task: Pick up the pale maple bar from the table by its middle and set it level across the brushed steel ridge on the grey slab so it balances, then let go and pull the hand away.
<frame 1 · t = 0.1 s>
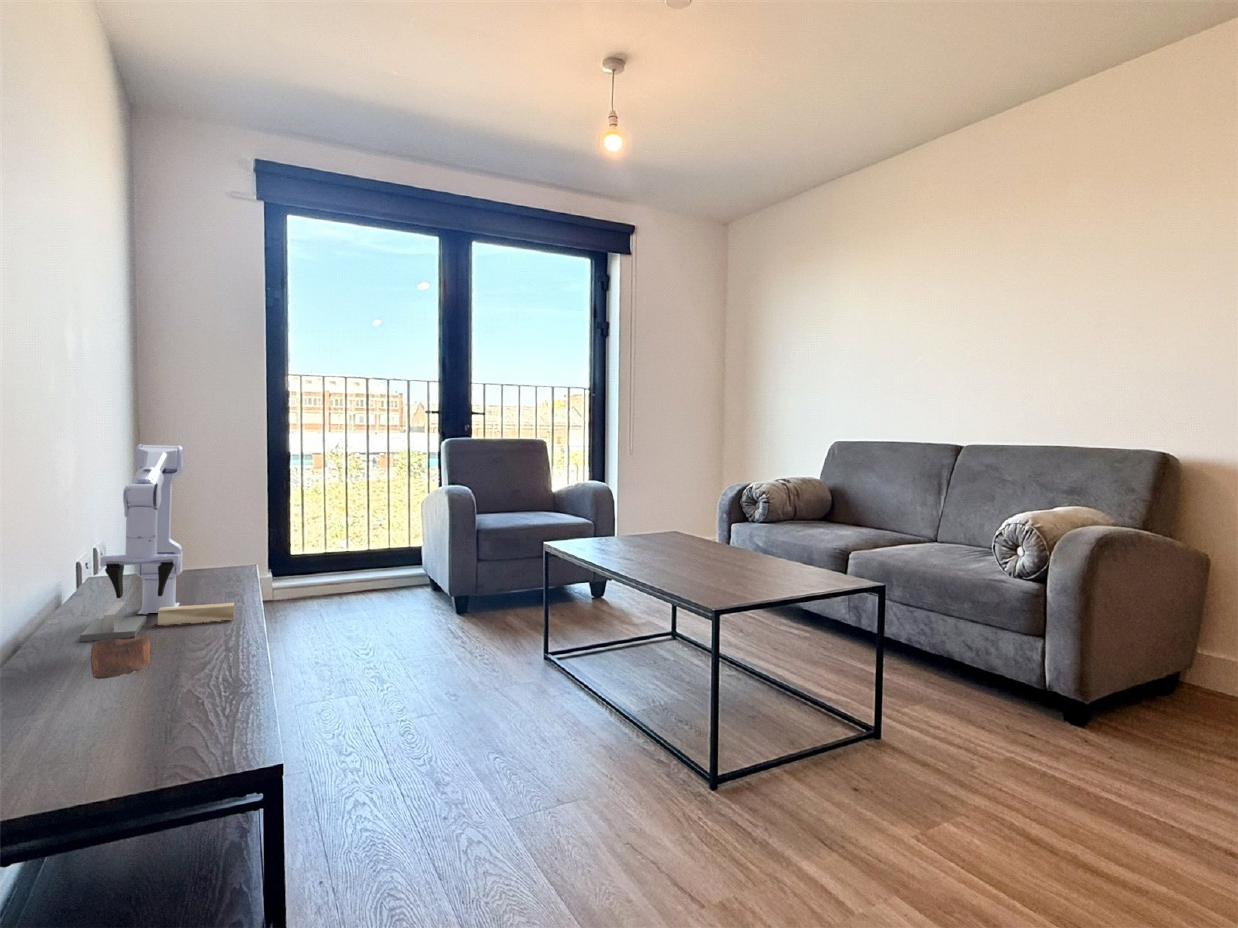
hand: (140, 596, 150), 10 cm above the table, tool pointing down, fingers open, 7 cm apart
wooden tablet: (120, 660, 139), on the table
steel ridge: (115, 616, 156), on the grey slab, point 4 cm above the table
maple bar: (197, 622, 167), on the table
grey slab: (115, 631, 156), on the table
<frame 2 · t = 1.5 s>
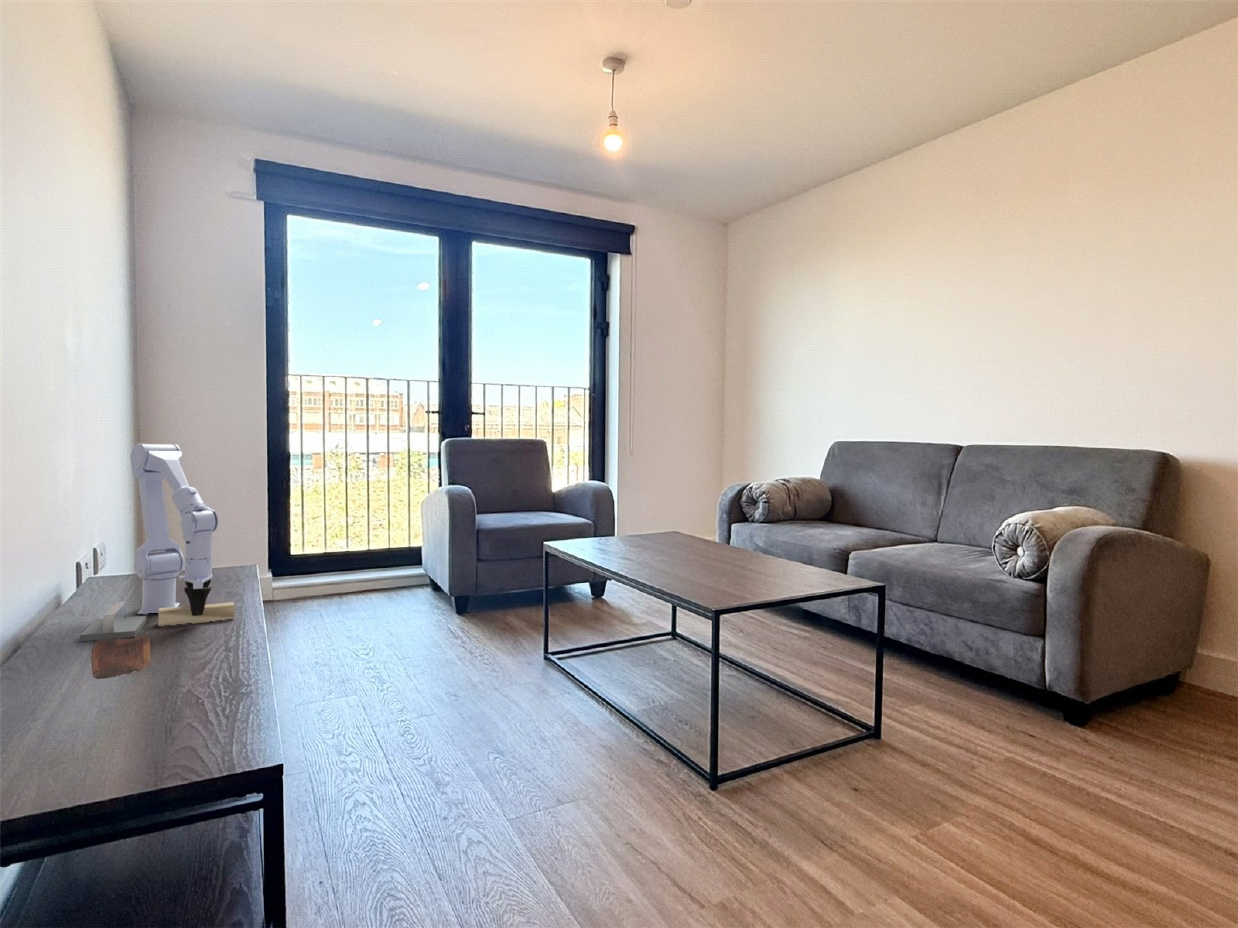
hand: (197, 611, 167), 2 cm above the table, tool pointing down, fingers open, 7 cm apart
nothing on the table moved.
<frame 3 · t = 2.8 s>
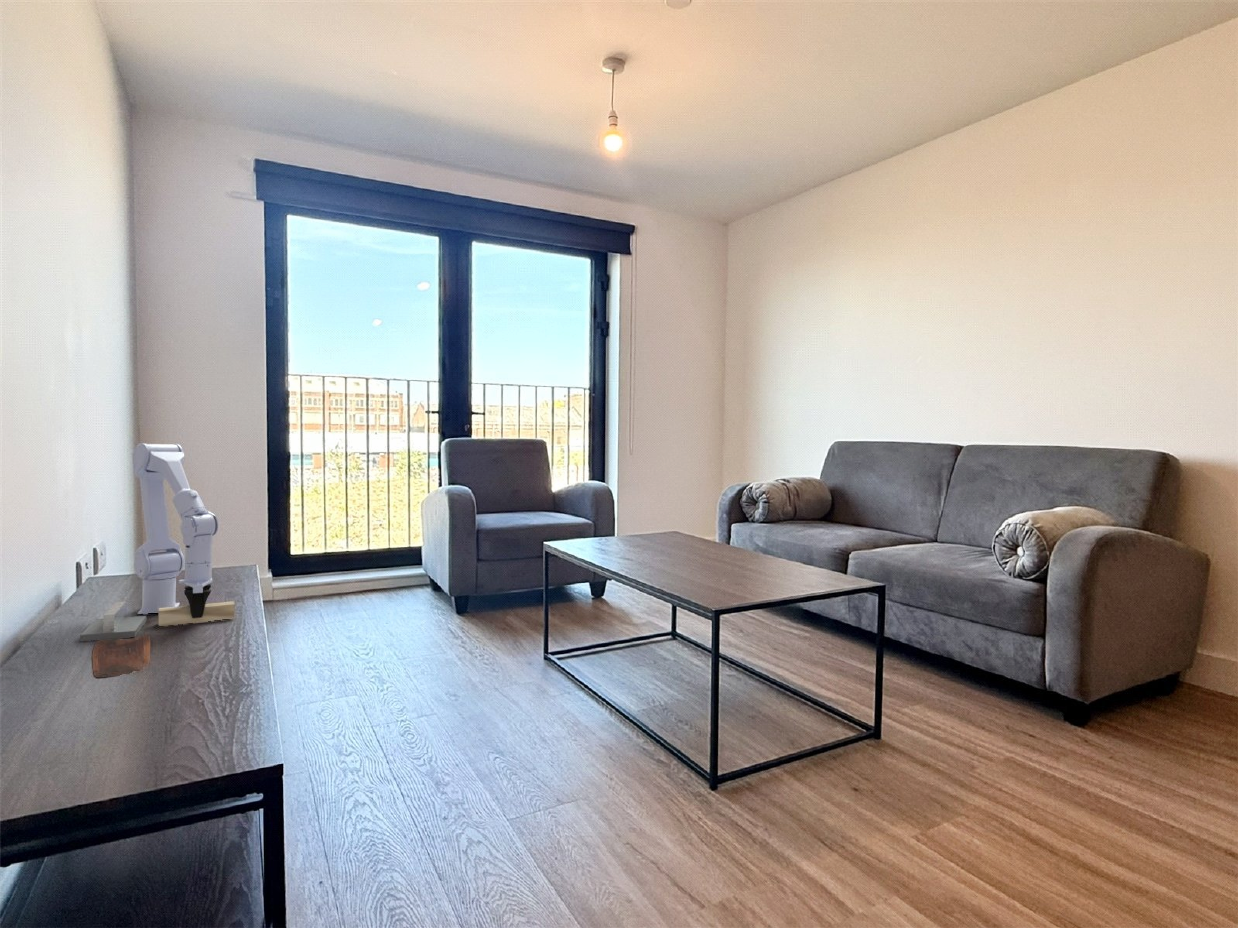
hand: (197, 615, 167), 1 cm above the table, tool pointing down, fingers closed on maple bar, 3 cm apart
maple bar: (197, 621, 167), on the table, touching gripper
everything else where it was.
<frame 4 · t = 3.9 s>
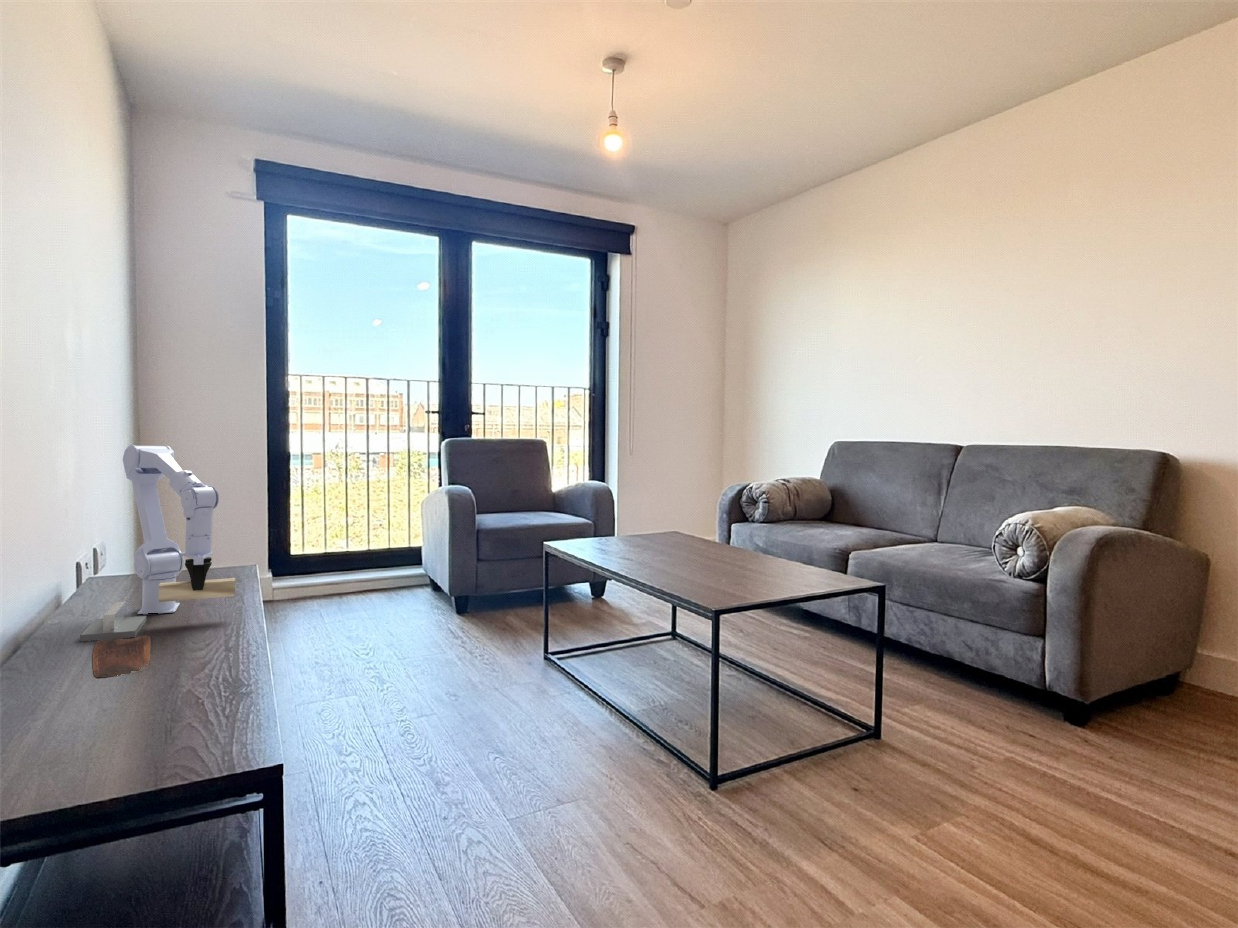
hand: (197, 588, 166), 8 cm above the table, tool pointing down, fingers closed on maple bar, 3 cm apart
maple bar: (197, 597, 167), point 6 cm above the table, touching gripper
everything else where it was.
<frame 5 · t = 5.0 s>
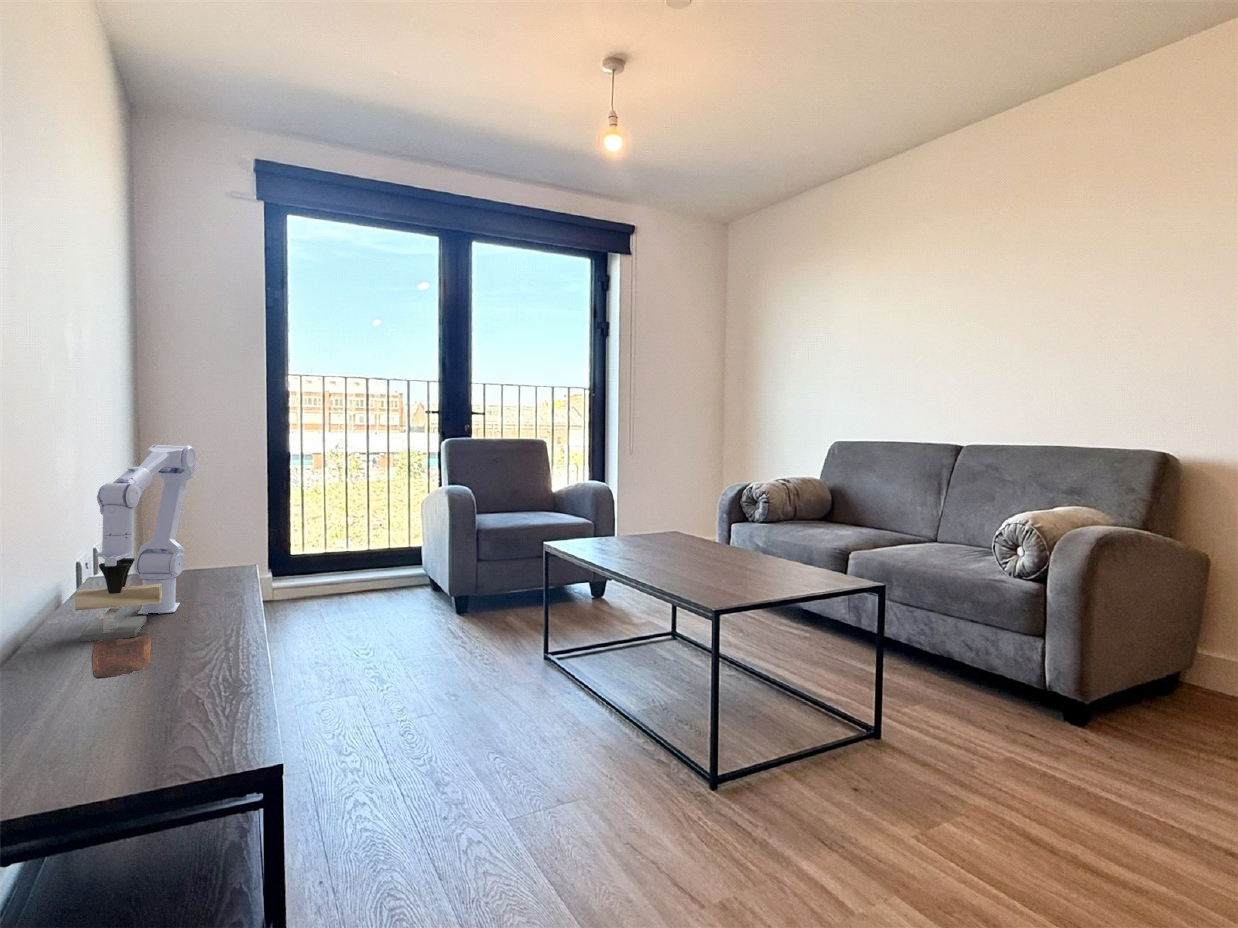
hand: (116, 591, 156), 9 cm above the table, tool pointing down, fingers closed on maple bar, 3 cm apart
maple bar: (119, 605, 156), point 6 cm above the table, touching gripper
everything else where it was.
when the fingers open (8 cm above the table, at t = 6.1 s): maple bar stays where it is, resting on steel ridge.
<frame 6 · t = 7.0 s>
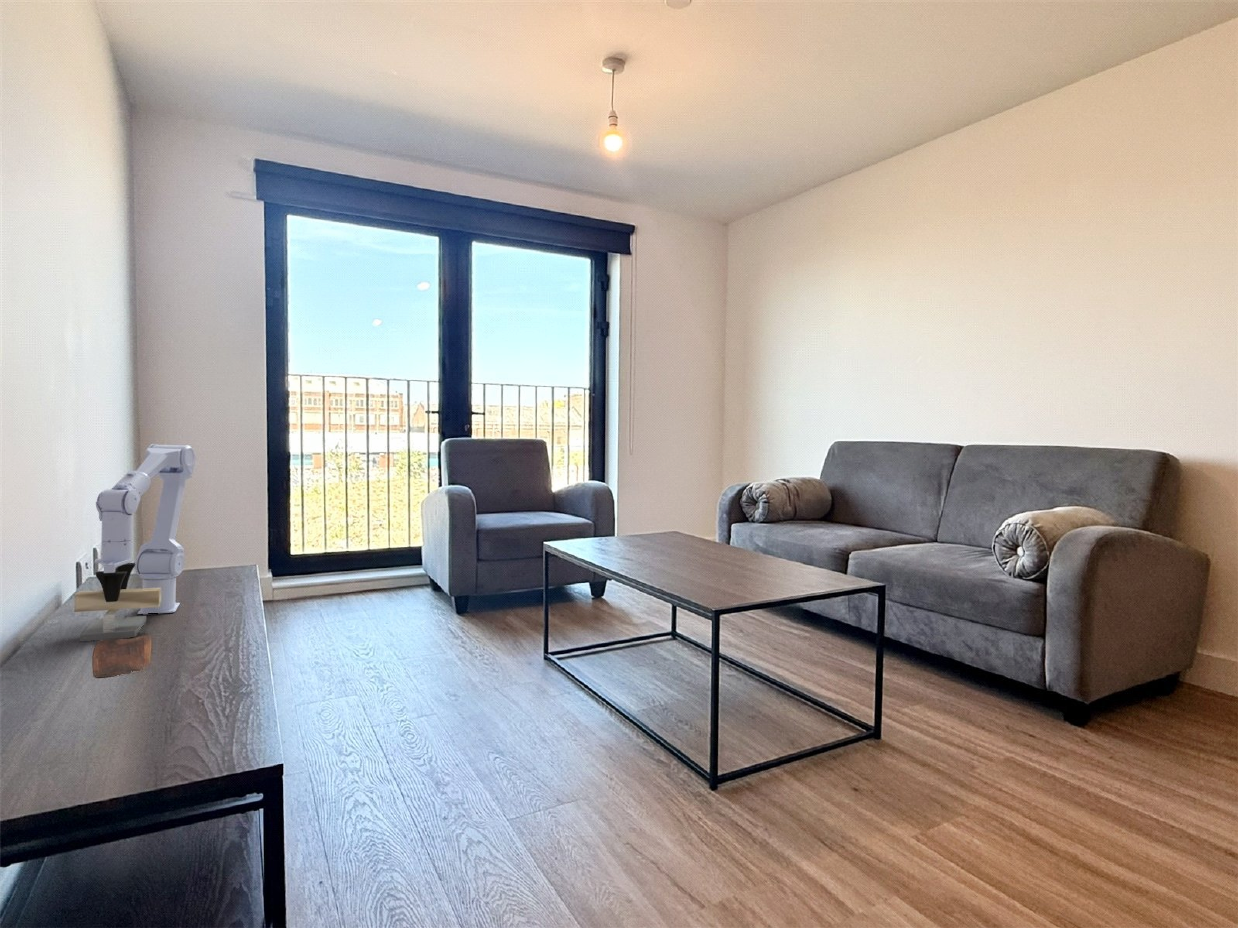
hand: (115, 597, 156), 8 cm above the table, tool pointing down, fingers open, 7 cm apart
maple bar: (118, 607, 156), point 5 cm above the table, touching steel ridge
everything else where it was.
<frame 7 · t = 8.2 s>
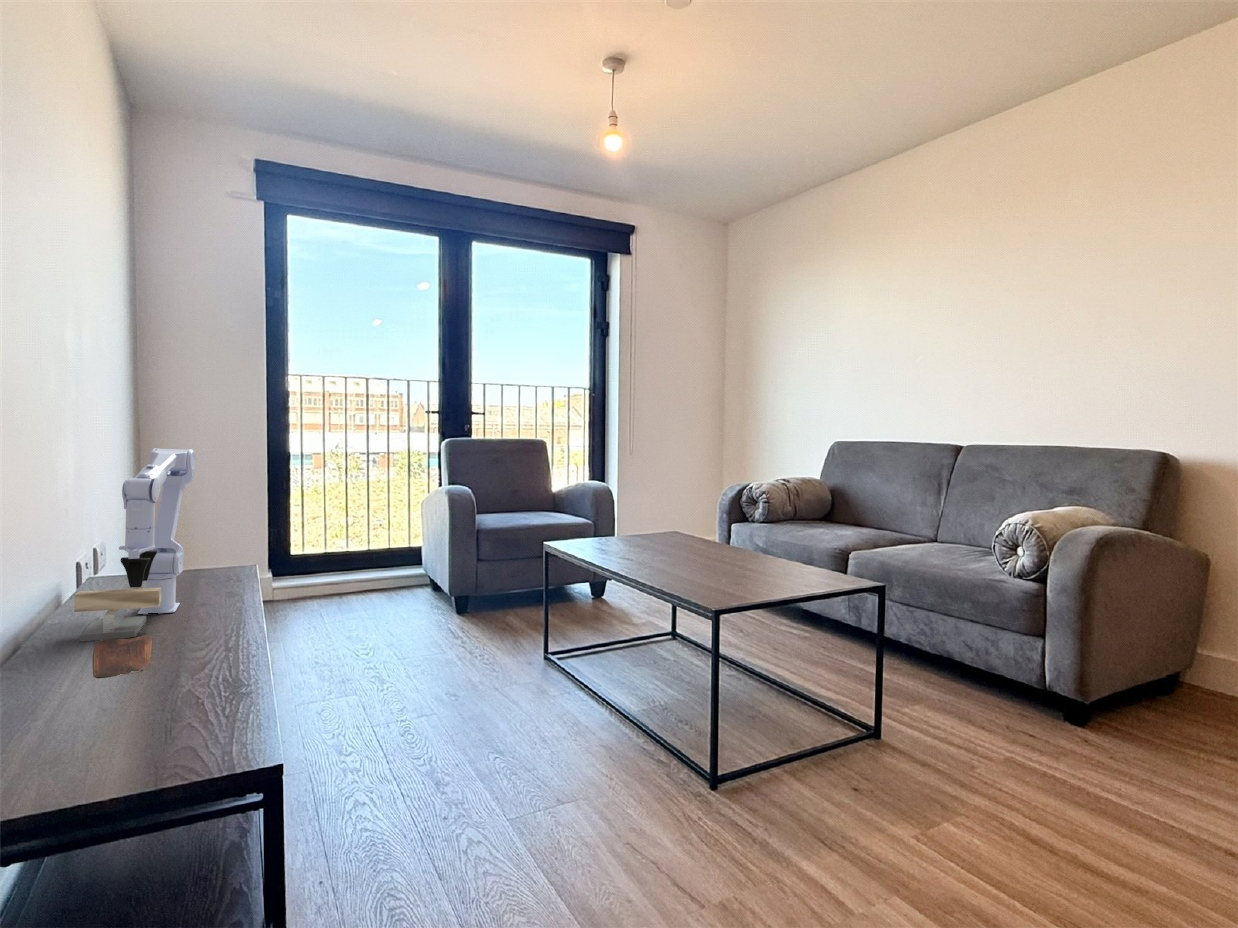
hand: (138, 583, 160), 10 cm above the table, tool pointing down, fingers open, 7 cm apart
nothing on the table moved.
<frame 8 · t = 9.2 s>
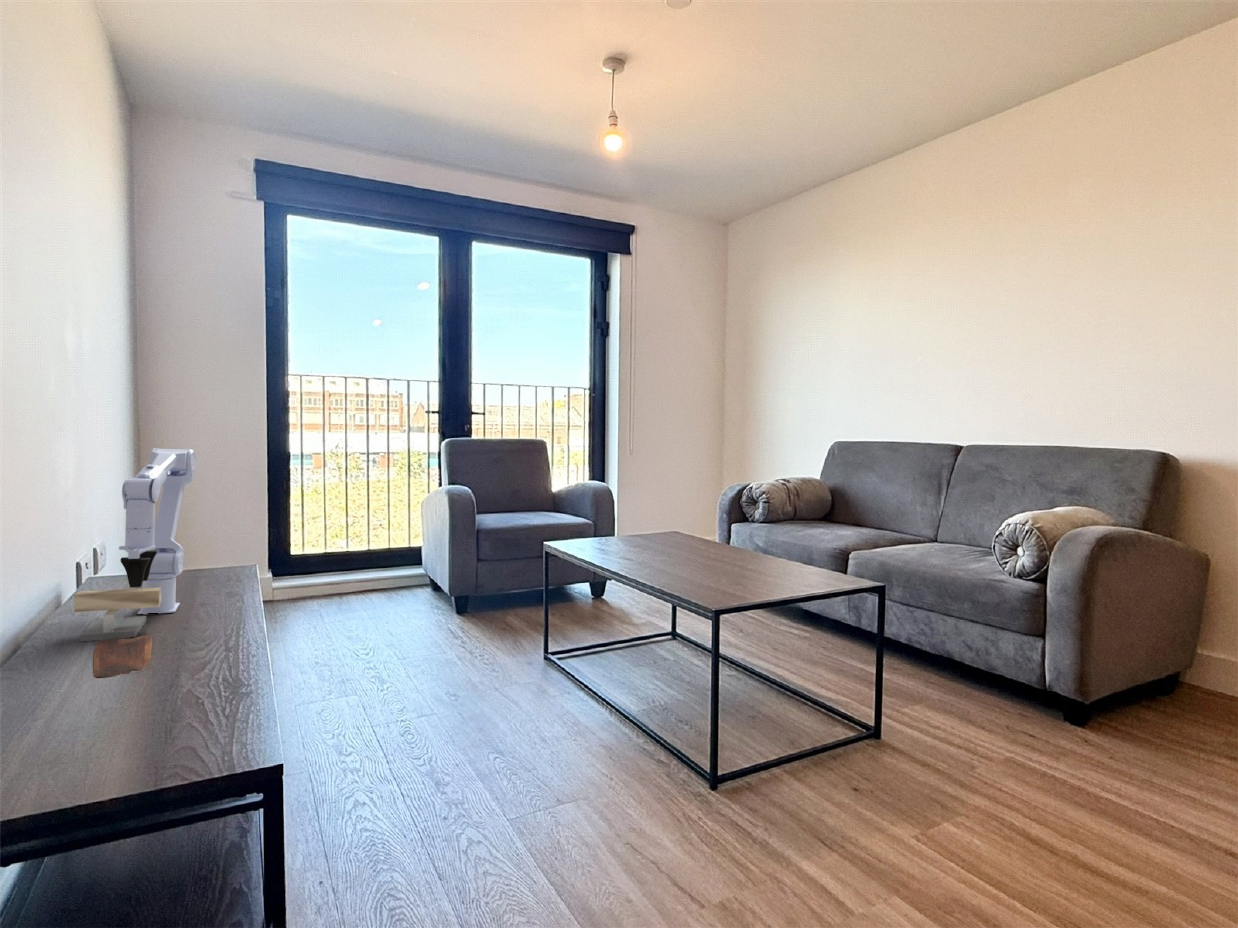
hand: (138, 583, 160), 10 cm above the table, tool pointing down, fingers open, 7 cm apart
nothing on the table moved.
at the end: maple bar 0.7 cm off-centre on the steel ridge, point 5.5 cm above the steel ridge's base; maple bar tilted 0°; the gripper is holding nothing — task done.
